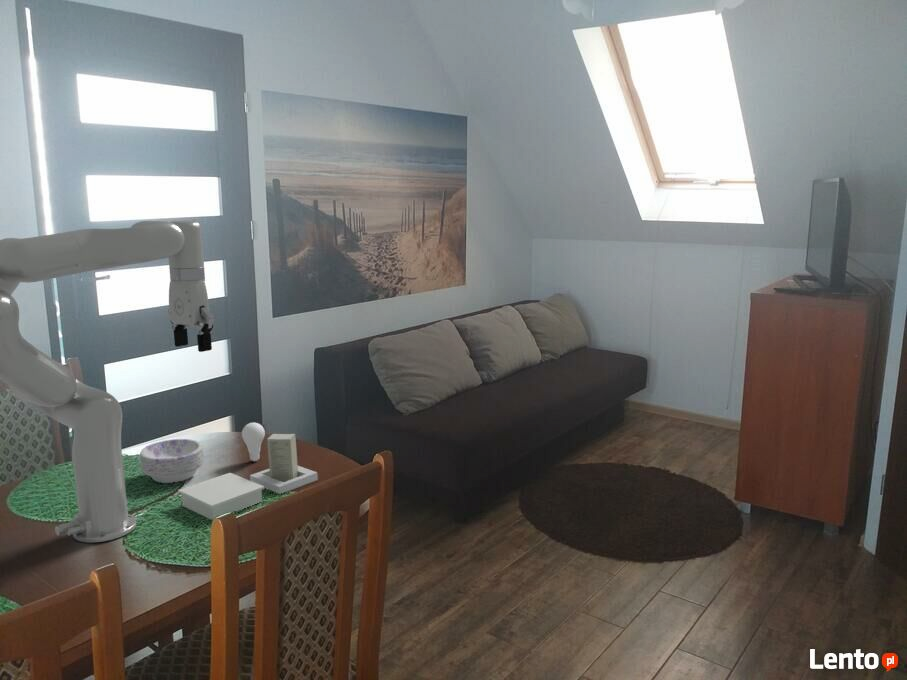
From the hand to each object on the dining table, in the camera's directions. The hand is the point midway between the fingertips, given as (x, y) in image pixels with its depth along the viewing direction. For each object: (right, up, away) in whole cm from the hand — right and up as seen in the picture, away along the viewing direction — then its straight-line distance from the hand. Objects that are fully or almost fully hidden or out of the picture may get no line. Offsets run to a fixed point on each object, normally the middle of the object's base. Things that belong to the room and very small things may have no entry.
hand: (193, 348), depth 169 cm
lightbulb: (+6, -32, +30) cm, 44 cm away
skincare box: (+18, -35, +16) cm, 42 cm away
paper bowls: (-12, -34, +19) cm, 41 cm away
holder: (+18, -34, +16) cm, 42 cm away
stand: (+6, -37, +2) cm, 38 cm away
